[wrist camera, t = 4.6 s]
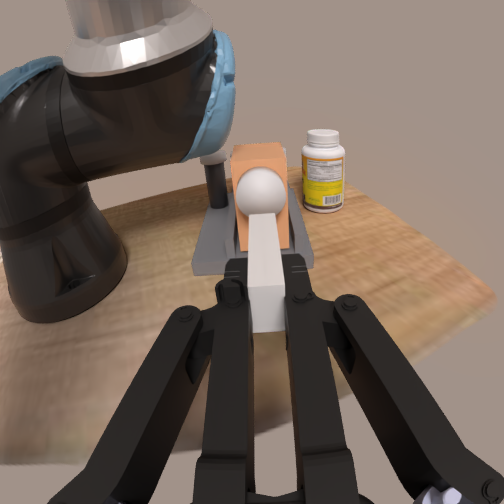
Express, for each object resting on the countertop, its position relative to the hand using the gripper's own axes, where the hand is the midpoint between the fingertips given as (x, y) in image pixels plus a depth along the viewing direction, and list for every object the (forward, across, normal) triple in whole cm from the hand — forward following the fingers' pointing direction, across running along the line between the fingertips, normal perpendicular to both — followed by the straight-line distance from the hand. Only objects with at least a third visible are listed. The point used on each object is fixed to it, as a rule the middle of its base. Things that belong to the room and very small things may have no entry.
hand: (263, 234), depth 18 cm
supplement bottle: (+22, +8, -9) cm, 25 cm away
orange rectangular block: (+11, 0, -7) cm, 13 cm away
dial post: (+21, -6, -7) cm, 23 cm away
